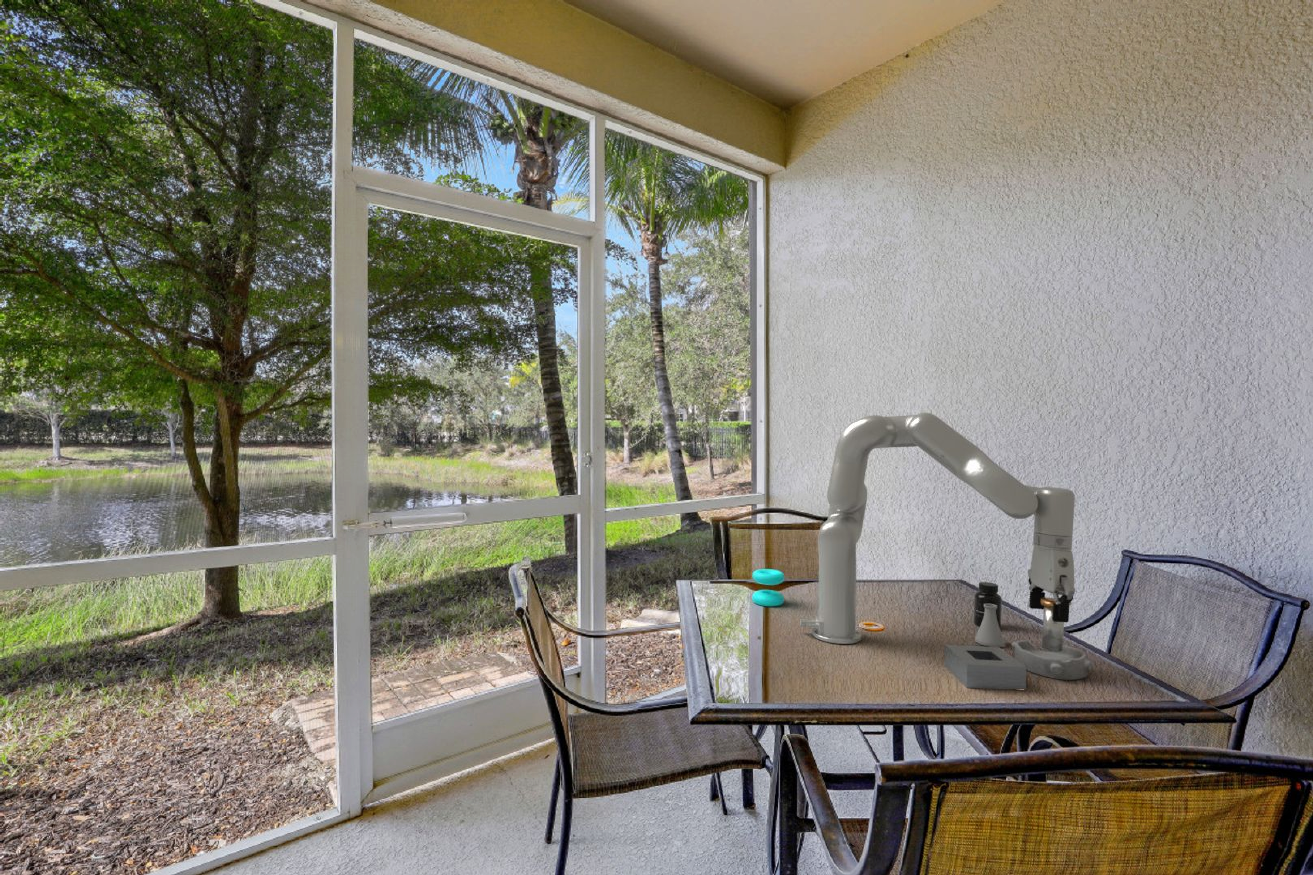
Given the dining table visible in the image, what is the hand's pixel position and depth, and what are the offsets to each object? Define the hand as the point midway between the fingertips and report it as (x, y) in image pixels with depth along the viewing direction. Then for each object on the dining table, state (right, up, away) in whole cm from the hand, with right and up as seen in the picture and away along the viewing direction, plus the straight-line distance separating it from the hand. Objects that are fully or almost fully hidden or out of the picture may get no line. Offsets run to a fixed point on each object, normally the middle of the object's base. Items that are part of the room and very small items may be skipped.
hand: (1048, 614), depth 140 cm
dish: (0, -13, 0) cm, 13 cm away
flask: (-4, -13, +17) cm, 22 cm away
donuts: (-55, -12, +52) cm, 77 cm away
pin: (+1, -8, 0) cm, 8 cm away
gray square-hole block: (-18, -12, -6) cm, 23 cm away
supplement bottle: (+3, -13, +32) cm, 34 cm away
